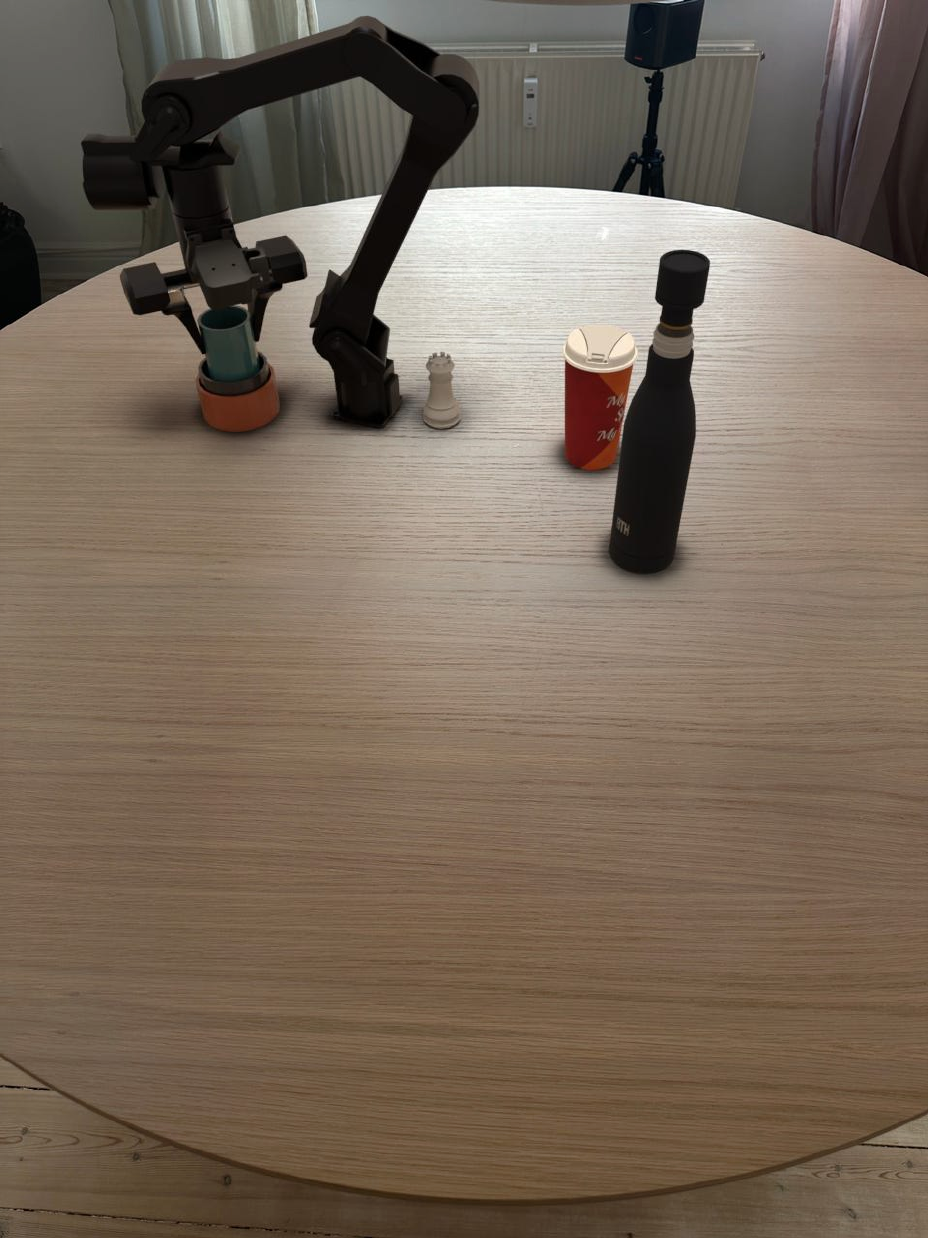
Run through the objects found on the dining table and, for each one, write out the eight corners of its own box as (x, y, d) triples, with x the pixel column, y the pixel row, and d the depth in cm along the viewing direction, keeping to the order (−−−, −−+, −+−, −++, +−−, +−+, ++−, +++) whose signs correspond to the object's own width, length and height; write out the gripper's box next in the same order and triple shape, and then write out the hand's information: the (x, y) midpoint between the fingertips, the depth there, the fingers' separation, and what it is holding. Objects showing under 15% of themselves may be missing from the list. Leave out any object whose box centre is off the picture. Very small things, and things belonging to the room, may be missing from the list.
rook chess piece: (467, 413, 115) (466, 352, 109) (451, 433, 112) (449, 371, 106) (433, 405, 116) (430, 343, 110) (416, 424, 113) (412, 363, 107)
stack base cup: (189, 423, 114) (180, 389, 111) (228, 383, 120) (221, 350, 117) (256, 438, 112) (250, 404, 108) (293, 397, 118) (287, 363, 114)
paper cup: (622, 479, 105) (636, 363, 95) (551, 471, 106) (557, 356, 97) (628, 438, 111) (642, 324, 101) (560, 430, 112) (568, 317, 102)
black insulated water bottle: (679, 538, 98) (733, 247, 77) (667, 579, 94) (720, 284, 73) (616, 525, 100) (652, 236, 79) (601, 565, 96) (635, 272, 74)
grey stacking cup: (196, 421, 114) (185, 376, 110) (229, 387, 119) (220, 342, 115) (254, 434, 112) (245, 388, 108) (286, 398, 117) (278, 353, 113)
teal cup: (201, 386, 111) (187, 325, 106) (227, 361, 115) (214, 301, 110) (245, 395, 110) (233, 334, 105) (270, 369, 114) (259, 309, 108)
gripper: (122, 258, 91) (162, 403, 102) (314, 219, 96) (332, 361, 107) (101, 212, 98) (140, 352, 109) (280, 179, 103) (300, 316, 114)
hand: (229, 346), depth 110 cm, fingers closed on teal cup, 6 cm apart
